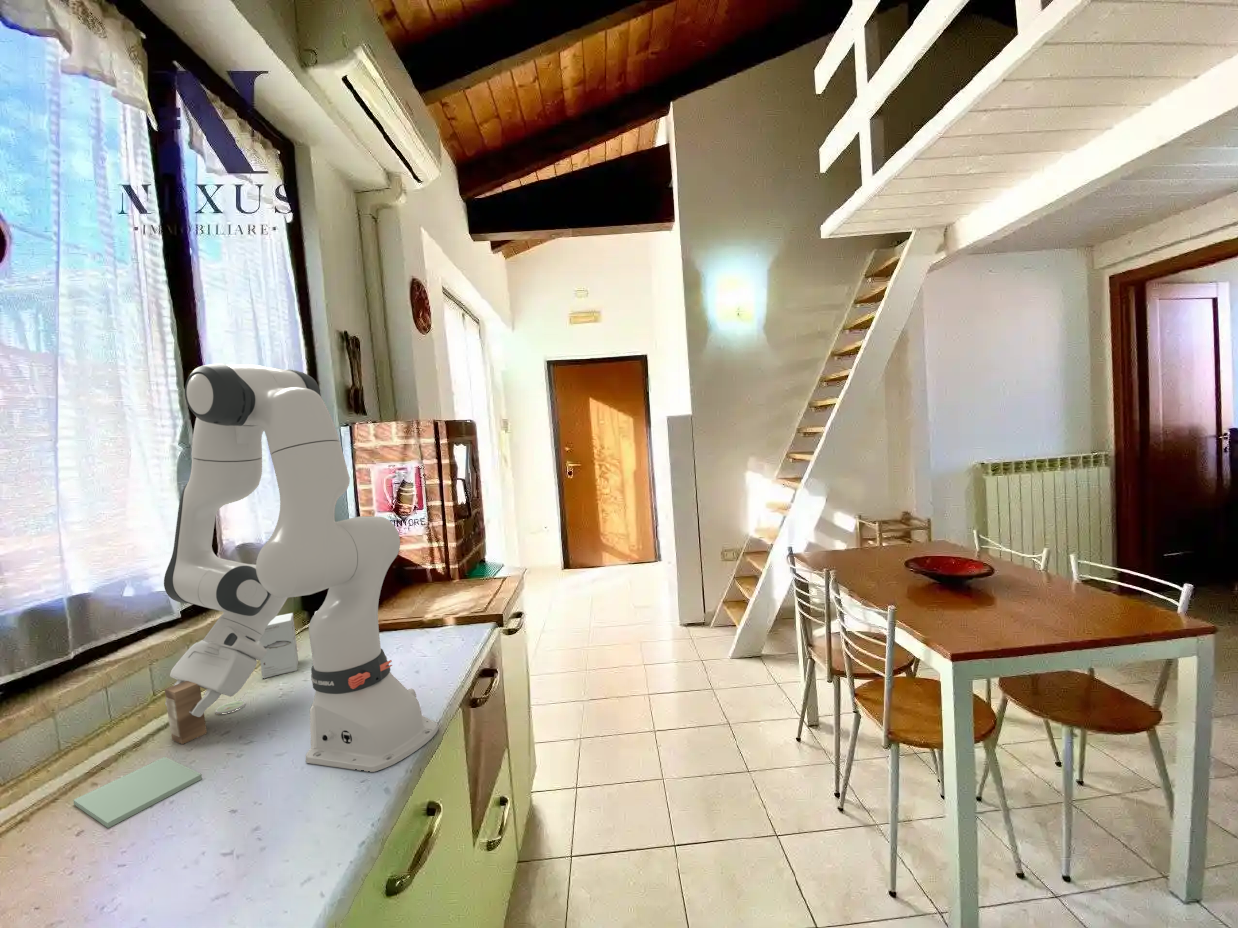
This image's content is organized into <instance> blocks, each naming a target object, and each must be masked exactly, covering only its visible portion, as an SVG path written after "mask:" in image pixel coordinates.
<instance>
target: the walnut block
mask: <svg viewBox="0 0 1238 928" xmlns="http://www.w3.org/2000/svg"><path fill="white" fill-rule="evenodd" d="M164 692H165V693H164V695H165V703H166V704H167V705H166V709H167V715H168V723H169V730H170V734H171V739H172V741H173V740H174V741H173V742H175V741H176V743H178V742H179V743H178V744H180V743H181V744H180V745H182V744H183V745H185V744H187V743H189V742H192V741H193V739H194V740H195V738H196V739H197V737H198V738H200V737H202V736H204V735H206V734H207V733H208V732H207V725H206V717H205V712H204V713H203V715H202V716H201V717H196V716H194V715H191V714H189V711H190V710H191V709H192V707H193V705H194V704H197V703H198V702H199V701H200V700H201V699H202V698H203V697H202V691H201V687H200V686H198V685H197V684H196V683H192V682H189V681H185V682H182V683H180V684H177V685H175V686H174V685H172V686H170V687H168V688H165V689H164ZM184 743H185V744H184Z"/></svg>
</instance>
